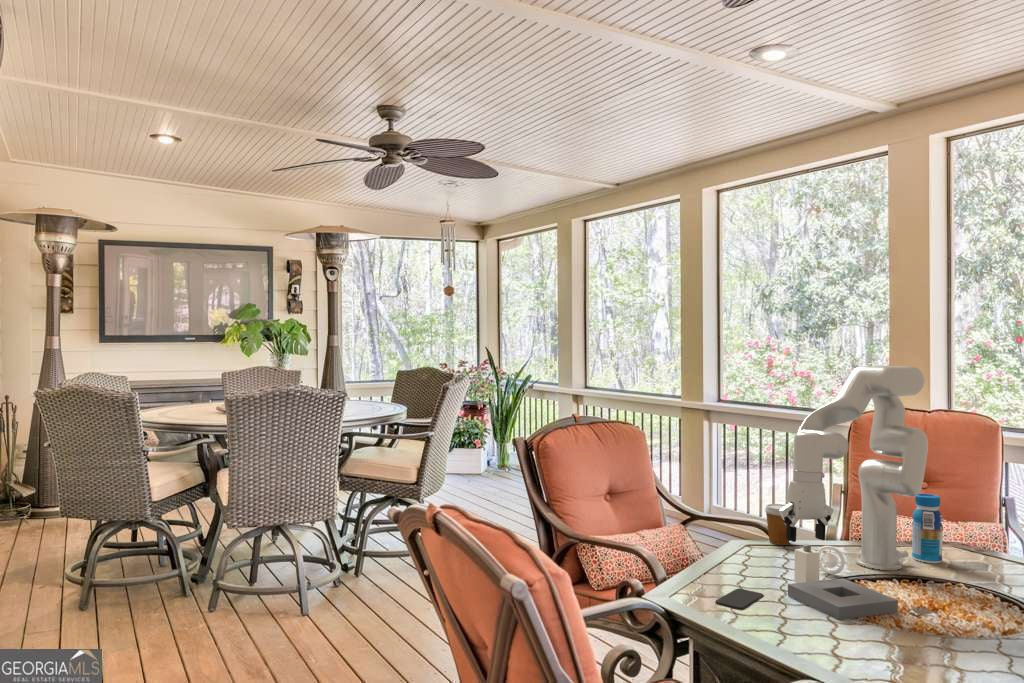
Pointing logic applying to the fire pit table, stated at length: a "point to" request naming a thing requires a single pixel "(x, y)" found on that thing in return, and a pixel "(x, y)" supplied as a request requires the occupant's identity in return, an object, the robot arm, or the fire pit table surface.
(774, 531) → the disposable coffee cup
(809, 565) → the plug
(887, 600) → the socket plate
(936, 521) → the beverage bottle
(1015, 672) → the fire pit table surface
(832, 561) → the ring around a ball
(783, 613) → the fire pit table surface
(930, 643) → the fire pit table surface
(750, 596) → the phone
